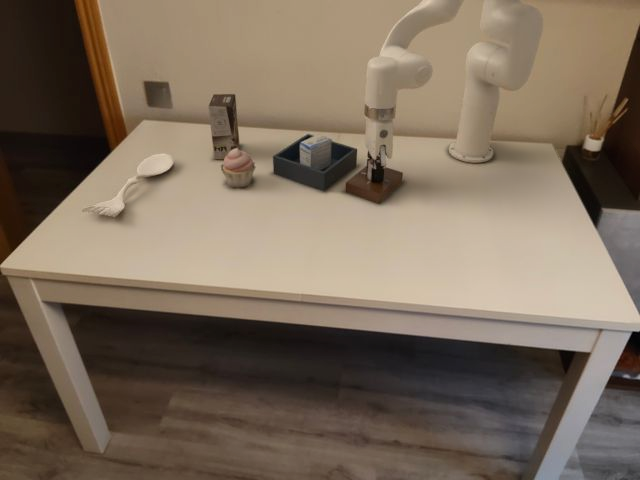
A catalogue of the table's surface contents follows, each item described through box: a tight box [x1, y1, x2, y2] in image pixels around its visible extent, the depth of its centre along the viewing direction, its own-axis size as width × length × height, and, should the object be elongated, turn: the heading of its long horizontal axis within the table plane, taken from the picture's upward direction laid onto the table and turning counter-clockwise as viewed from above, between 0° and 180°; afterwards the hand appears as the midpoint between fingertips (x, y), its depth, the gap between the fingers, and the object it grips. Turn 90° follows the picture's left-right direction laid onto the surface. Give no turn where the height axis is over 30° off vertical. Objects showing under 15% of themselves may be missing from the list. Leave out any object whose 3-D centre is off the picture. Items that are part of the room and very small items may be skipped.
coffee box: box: [208, 93, 241, 160], centre depth 155 cm, size 9×6×16 cm
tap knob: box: [367, 159, 380, 180], centre depth 141 cm, size 4×4×5 cm
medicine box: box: [300, 133, 332, 170], centre depth 149 cm, size 8×4×9 cm, turn 135°
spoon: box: [82, 153, 174, 218], centre depth 141 cm, size 9×32×4 cm, turn 164°
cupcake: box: [220, 148, 257, 189], centre depth 143 cm, size 9×9×10 cm
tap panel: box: [344, 165, 404, 205], centre depth 143 cm, size 13×10×3 cm
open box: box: [272, 133, 358, 192], centre depth 150 cm, size 17×17×5 cm
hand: (374, 176), depth 142 cm, fingers closed on tap knob, 4 cm apart
